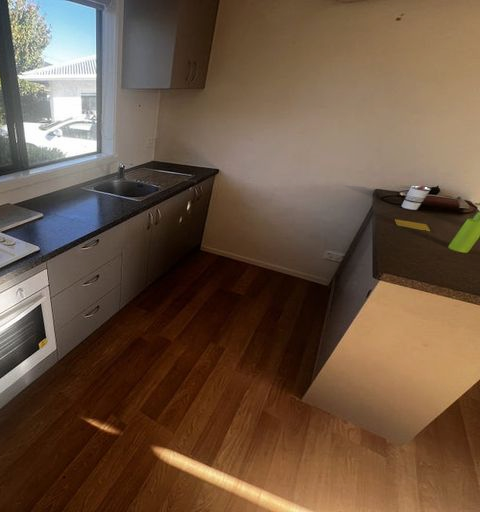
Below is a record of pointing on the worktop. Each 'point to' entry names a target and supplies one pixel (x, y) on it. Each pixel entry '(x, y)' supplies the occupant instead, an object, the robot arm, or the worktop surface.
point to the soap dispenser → (467, 234)
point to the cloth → (412, 225)
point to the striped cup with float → (415, 197)
